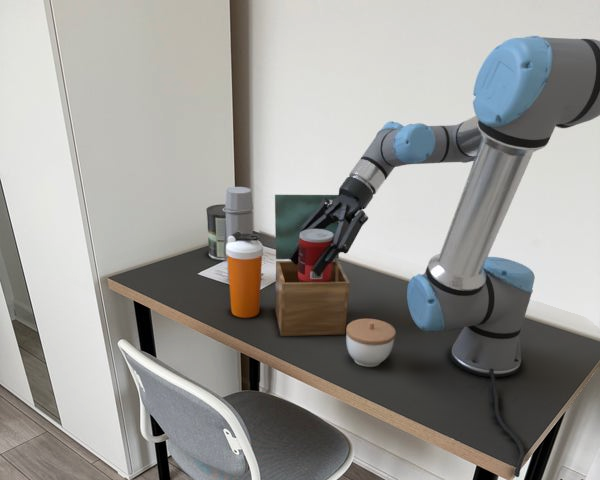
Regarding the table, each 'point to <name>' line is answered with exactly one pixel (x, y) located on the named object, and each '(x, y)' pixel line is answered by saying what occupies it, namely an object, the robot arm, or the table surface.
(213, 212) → the coffee can
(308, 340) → the table surface
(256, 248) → the shaker bottle
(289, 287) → the chest
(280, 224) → the chest lid
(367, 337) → the trinket box
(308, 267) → the canned food
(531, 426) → the table surface
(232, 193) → the water bottle
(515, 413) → the table surface
